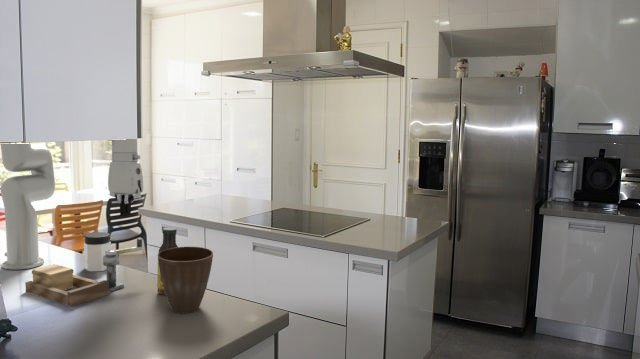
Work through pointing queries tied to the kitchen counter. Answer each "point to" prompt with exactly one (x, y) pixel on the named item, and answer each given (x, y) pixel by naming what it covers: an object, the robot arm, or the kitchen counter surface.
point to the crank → (124, 250)
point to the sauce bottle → (168, 243)
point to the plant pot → (185, 276)
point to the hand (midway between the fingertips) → (125, 215)
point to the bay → (84, 292)
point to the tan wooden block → (54, 276)
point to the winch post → (112, 272)
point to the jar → (96, 250)
